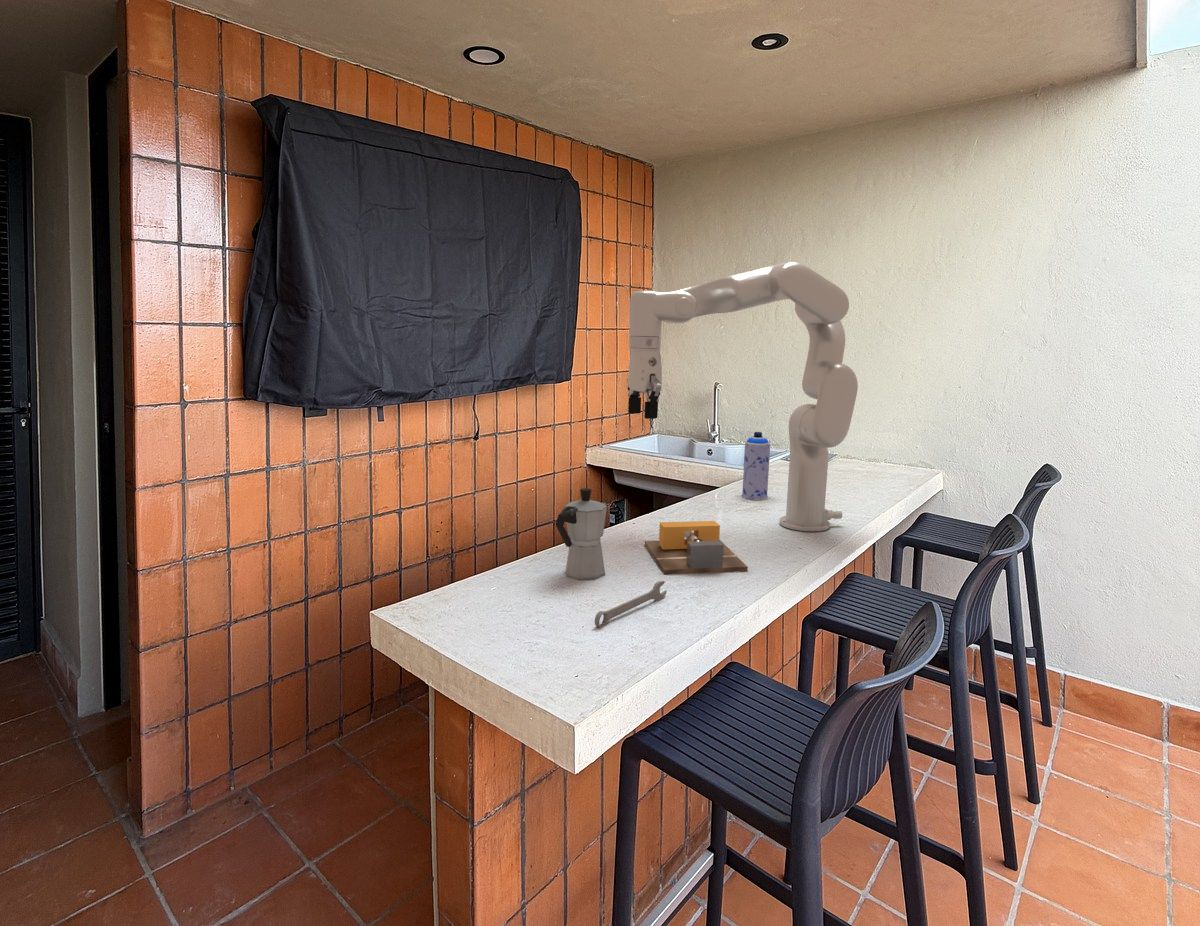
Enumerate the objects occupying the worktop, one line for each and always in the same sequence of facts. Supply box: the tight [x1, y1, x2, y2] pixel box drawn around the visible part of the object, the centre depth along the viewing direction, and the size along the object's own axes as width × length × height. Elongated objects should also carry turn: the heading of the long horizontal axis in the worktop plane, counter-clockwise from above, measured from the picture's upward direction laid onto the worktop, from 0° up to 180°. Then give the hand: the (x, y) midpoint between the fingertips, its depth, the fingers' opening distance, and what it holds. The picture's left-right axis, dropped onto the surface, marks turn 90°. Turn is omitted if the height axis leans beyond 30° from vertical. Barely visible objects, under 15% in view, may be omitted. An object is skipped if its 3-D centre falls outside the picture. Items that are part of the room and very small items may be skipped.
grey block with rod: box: [685, 531, 724, 569], centre depth 155 cm, size 7×19×5 cm, turn 8°
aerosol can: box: [741, 431, 771, 501], centre depth 210 cm, size 8×8×20 cm
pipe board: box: [644, 538, 749, 575], centre depth 156 cm, size 18×20×1 cm
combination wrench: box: [594, 580, 668, 629], centre depth 125 cm, size 4×1×20 cm
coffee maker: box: [555, 487, 608, 581], centre depth 143 cm, size 15×9×18 cm, turn 141°
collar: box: [658, 520, 721, 550], centre depth 159 cm, size 13×4×5 cm, turn 98°
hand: (642, 415), depth 169 cm, fingers open, 9 cm apart
